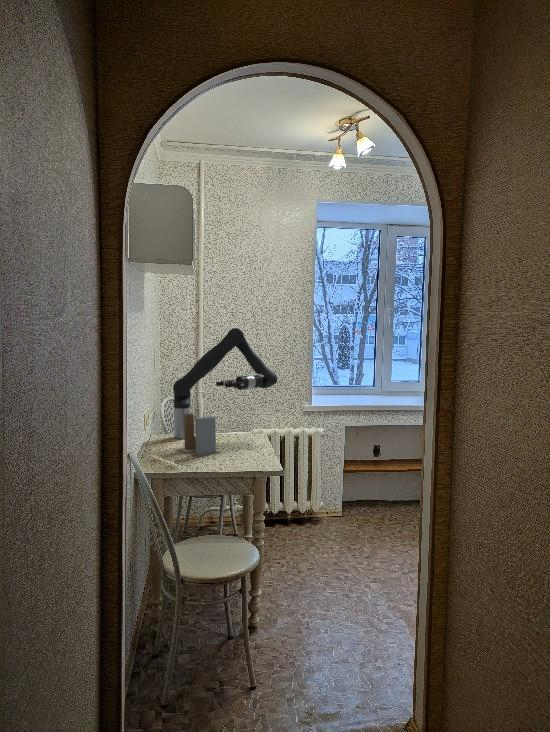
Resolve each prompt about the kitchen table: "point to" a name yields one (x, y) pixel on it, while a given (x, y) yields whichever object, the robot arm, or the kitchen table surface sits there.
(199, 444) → the slate post
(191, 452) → the base board
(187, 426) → the wooden block
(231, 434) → the kitchen table surface
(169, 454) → the kitchen table surface
